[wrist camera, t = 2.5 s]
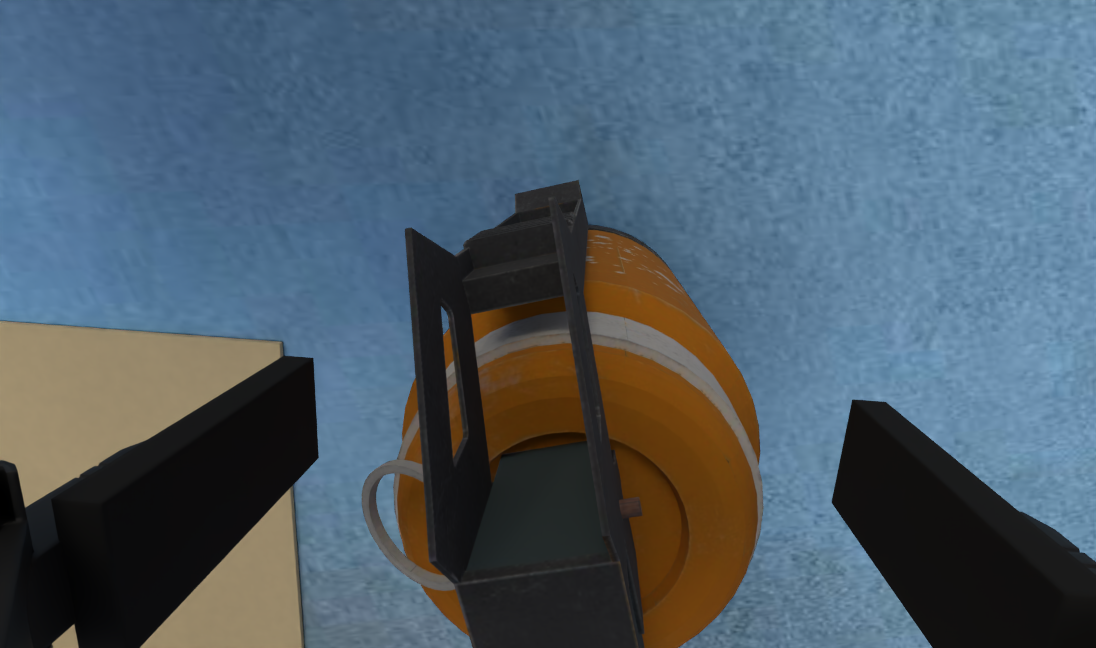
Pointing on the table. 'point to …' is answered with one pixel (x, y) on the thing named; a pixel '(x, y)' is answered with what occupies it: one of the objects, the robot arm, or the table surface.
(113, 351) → the mat
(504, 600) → the canister
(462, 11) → the table surface
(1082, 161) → the table surface
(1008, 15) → the table surface
